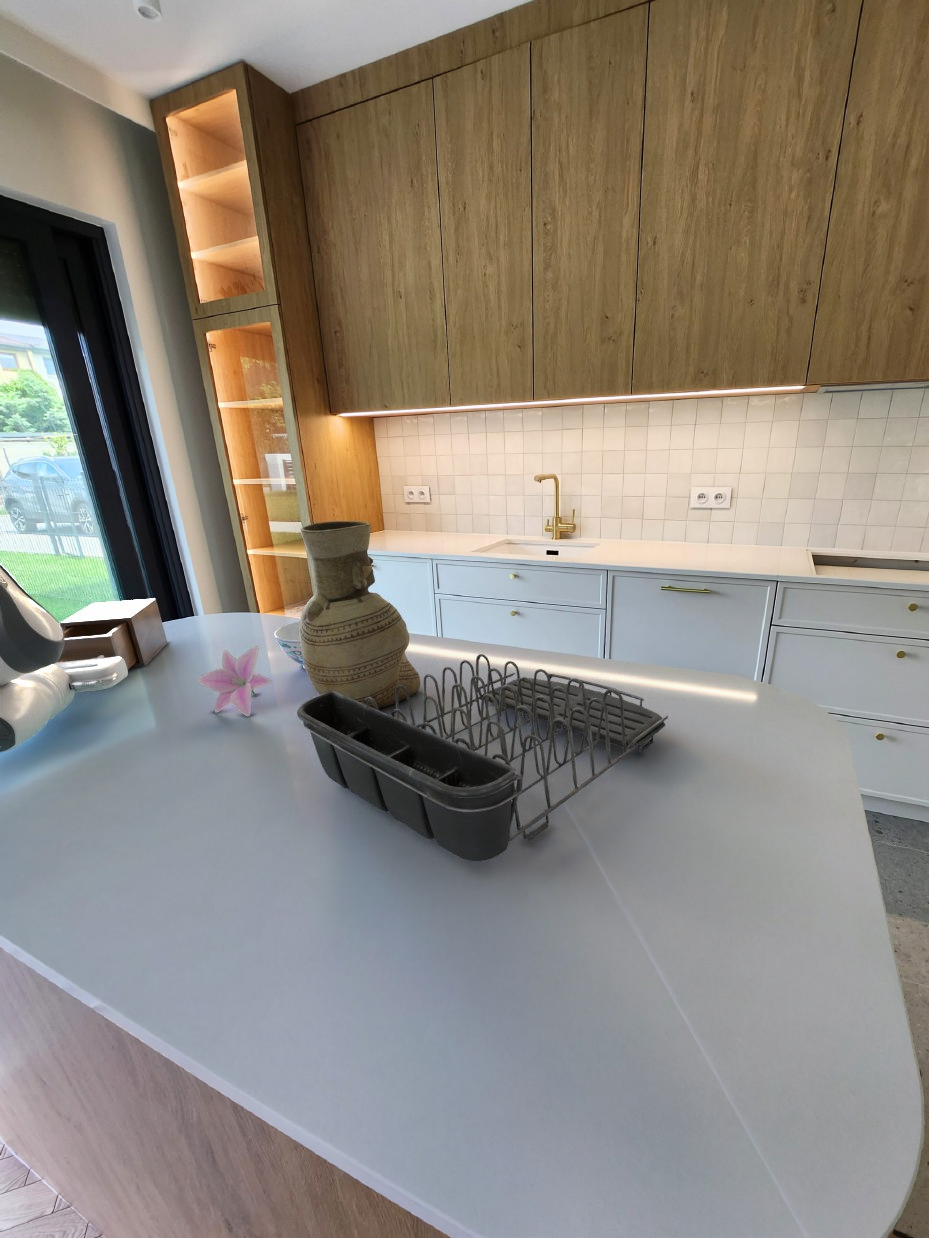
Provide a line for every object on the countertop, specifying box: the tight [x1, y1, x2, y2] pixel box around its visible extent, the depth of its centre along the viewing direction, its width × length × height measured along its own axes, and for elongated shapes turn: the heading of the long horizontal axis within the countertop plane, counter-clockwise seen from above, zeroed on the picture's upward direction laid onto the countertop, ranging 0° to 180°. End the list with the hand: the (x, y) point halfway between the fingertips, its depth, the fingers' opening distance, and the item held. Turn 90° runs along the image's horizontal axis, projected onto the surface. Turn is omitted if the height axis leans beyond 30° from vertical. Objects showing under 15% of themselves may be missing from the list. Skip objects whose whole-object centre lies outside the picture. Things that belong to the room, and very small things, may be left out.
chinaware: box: [274, 620, 306, 670], centre depth 118 cm, size 15×15×8 cm
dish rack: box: [296, 653, 669, 862], centre depth 79 cm, size 34×44×12 cm
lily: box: [197, 645, 272, 717], centre depth 101 cm, size 12×12×10 cm
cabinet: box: [59, 598, 168, 669], centre depth 125 cm, size 16×13×11 cm
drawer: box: [57, 621, 139, 671], centre depth 114 cm, size 19×11×9 cm, turn 13°
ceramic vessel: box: [299, 520, 421, 709], centre depth 98 cm, size 19×21×30 cm
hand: (76, 661), depth 107 cm, fingers closed on drawer, 6 cm apart
